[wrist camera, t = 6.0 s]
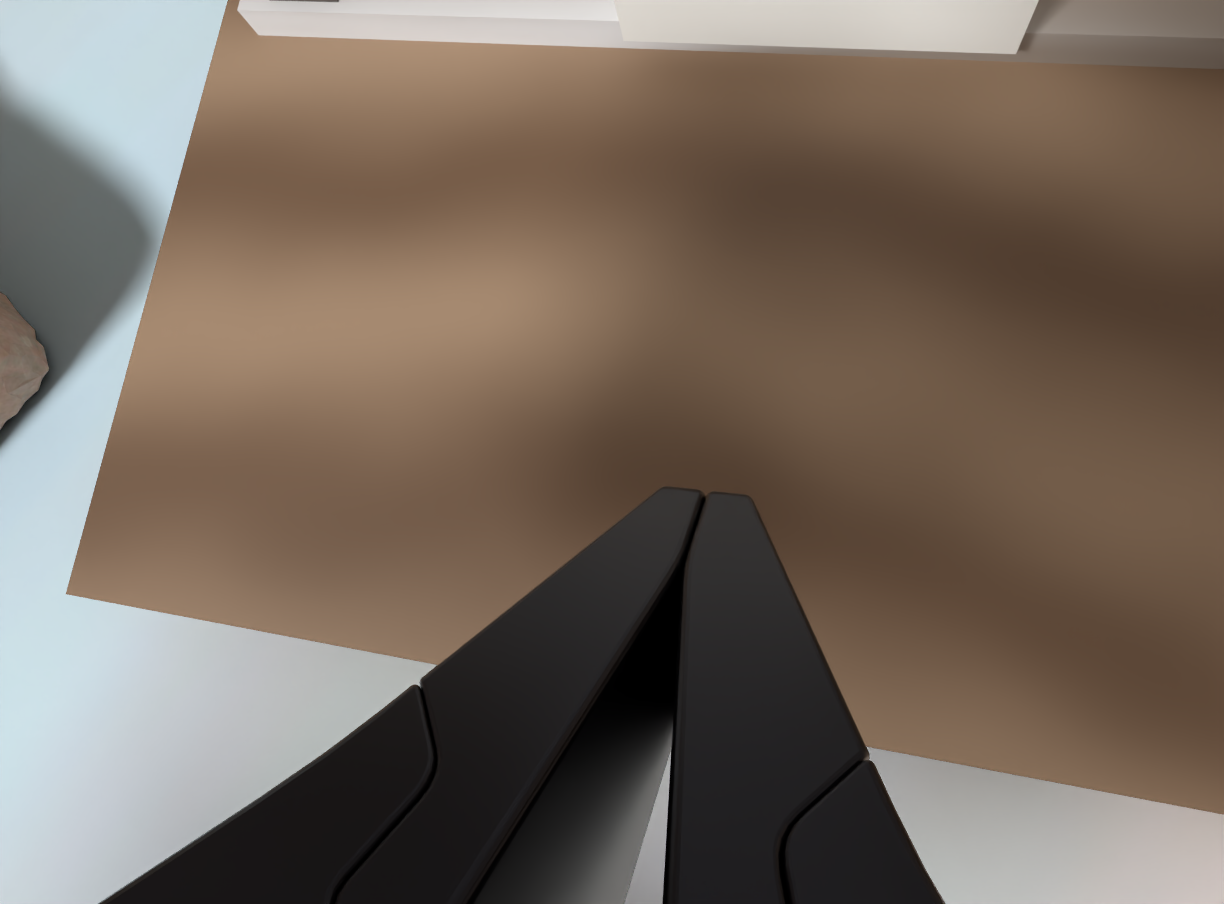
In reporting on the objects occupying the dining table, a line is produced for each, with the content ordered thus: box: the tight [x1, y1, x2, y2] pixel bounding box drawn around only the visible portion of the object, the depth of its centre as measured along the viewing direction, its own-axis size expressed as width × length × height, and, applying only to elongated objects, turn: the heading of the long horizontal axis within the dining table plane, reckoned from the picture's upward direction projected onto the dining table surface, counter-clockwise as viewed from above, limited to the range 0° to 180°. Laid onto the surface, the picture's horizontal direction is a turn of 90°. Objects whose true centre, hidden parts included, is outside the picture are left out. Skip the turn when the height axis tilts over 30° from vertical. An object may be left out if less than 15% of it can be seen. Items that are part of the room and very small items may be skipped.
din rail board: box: [66, 0, 1224, 814], centre depth 15 cm, size 18×26×4 cm
